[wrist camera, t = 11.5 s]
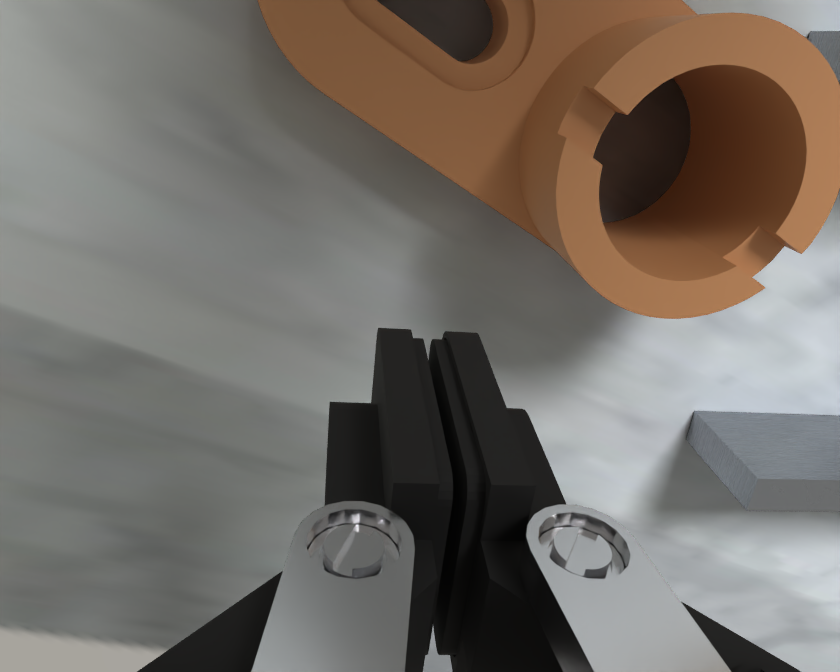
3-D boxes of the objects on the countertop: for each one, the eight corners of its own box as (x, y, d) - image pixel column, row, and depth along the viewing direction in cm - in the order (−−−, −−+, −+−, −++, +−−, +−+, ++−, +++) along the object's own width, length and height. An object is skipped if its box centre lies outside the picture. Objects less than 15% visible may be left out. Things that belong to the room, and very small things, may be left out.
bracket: (763, 109, 25) (907, 134, 18) (619, 287, 27) (703, 364, 21) (349, -255, 19) (354, -397, 13) (213, 10, 22) (161, 0, 15)
